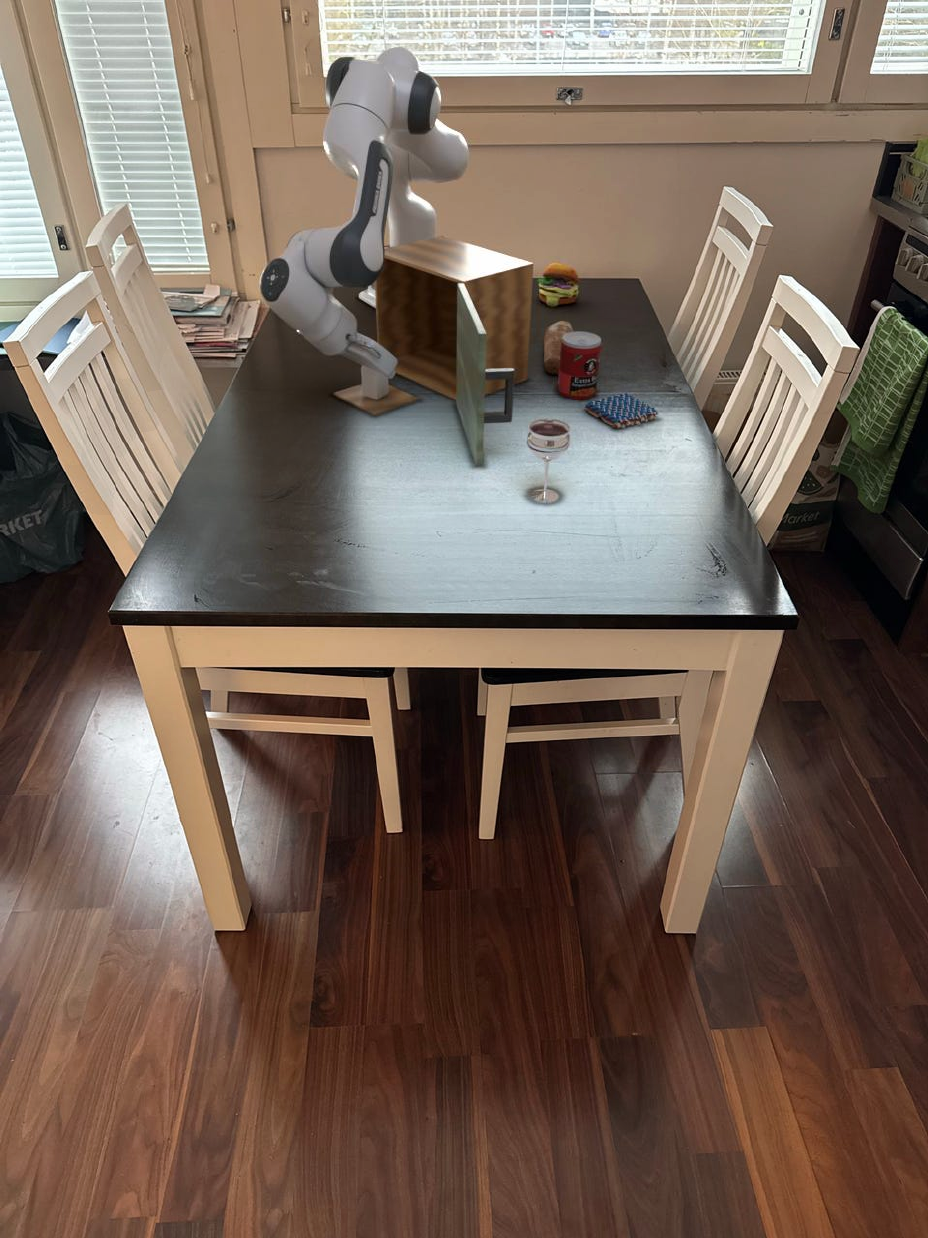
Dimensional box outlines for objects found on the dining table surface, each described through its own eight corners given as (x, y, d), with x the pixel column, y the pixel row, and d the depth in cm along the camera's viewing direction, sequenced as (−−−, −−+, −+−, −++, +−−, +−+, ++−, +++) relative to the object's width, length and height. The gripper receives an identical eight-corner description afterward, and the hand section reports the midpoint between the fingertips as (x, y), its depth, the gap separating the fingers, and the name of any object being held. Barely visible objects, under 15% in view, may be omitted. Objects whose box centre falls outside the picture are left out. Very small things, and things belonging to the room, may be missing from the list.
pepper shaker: (390, 394, 180) (388, 347, 174) (377, 401, 177) (375, 353, 172) (373, 389, 182) (371, 342, 176) (361, 396, 179) (358, 348, 173)
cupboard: (462, 403, 178) (464, 281, 165) (378, 365, 194) (373, 250, 180) (527, 380, 188) (533, 263, 174) (442, 345, 204) (441, 235, 190)
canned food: (571, 402, 179) (576, 347, 173) (549, 388, 185) (553, 334, 178) (604, 396, 182) (610, 341, 176) (581, 381, 188) (586, 328, 181)
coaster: (333, 395, 181) (333, 392, 180) (377, 381, 187) (377, 378, 186) (374, 416, 173) (374, 413, 173) (418, 400, 179) (418, 398, 179)
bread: (573, 345, 204) (575, 320, 201) (565, 378, 189) (567, 351, 186) (545, 343, 205) (546, 318, 202) (534, 375, 190) (536, 349, 187)
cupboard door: (488, 402, 178) (492, 282, 165) (512, 464, 158) (519, 332, 144) (456, 404, 178) (457, 283, 164) (475, 466, 157) (478, 333, 143)
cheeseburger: (530, 304, 227) (535, 261, 223) (542, 302, 236) (547, 261, 232) (569, 309, 224) (575, 265, 220) (580, 307, 233) (586, 265, 229)
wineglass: (553, 510, 145) (559, 440, 138) (516, 499, 148) (519, 430, 141) (572, 493, 150) (579, 424, 143) (536, 482, 153) (540, 414, 146)
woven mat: (660, 419, 174) (662, 409, 172) (616, 431, 169) (617, 421, 168) (625, 400, 181) (626, 390, 179) (582, 411, 176) (583, 401, 175)
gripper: (377, 328, 159) (420, 369, 171) (308, 300, 171) (353, 339, 183) (358, 360, 160) (403, 398, 171) (291, 329, 172) (337, 367, 183)
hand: (377, 368), depth 177 cm, fingers open, 7 cm apart
